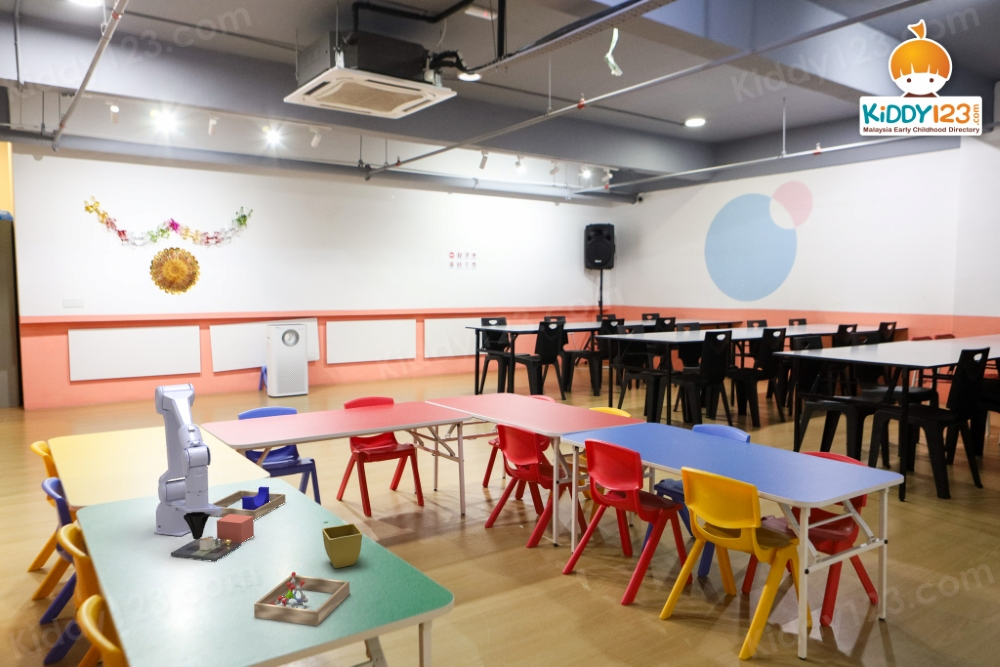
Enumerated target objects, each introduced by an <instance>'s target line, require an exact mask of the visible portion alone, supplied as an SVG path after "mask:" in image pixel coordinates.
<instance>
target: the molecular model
mask: <svg viewBox="0 0 1000 667" xmlns="http://www.w3.org/2000/svg"><path fill="white" fill-rule="evenodd" d="M291 575H292V580H291V582H290V583H289V582H288V583H287V587H288V593H286V594H285V595H284V596H283V597H281V596H279V597H278V600H277V601H276V602H274V603H271V604H270V605H280V604H283V606H285V607H288V605H287V603H288V602H290V600H292V599H293V600H295V601H296V606H295V608H299V605H300V606H301V605H303V603H304V604H307V603H308V601H309V599H308V597H306V596H307V595H306V594H305V593H303V591H302V590H303V589H302V585H304V584H305V581H304V580H302V581H301V582H300V586H297V585H296V583H295V582H296V581H295V579H294V577H295V575H297V573H296V572H295V571H293V572H291ZM291 575H290V576H291ZM291 584H294V585H291ZM290 586H291V590H290ZM293 590H294V592H293ZM297 592H299V593H300V598H299V597H298V598H297V596H296V594H297Z"/></svg>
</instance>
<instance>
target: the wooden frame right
mask: <svg viewBox="0 0 1000 667" xmlns="http://www.w3.org/2000/svg"><path fill="white" fill-rule="evenodd" d="M294 579H295V581H296V582H295V583H296V585H297V586H300V582H301V581H302V580H304V581H305V584H304V585H302V590H305V591H313V592H321V593H328V594H332V595H330V597H329V598H327V599H326V600H325V601H324V602H323V603H322V604H321V605H320V606H319V607H318V608H317V609H316V610H312V609H307V608H305V609H304V608H299V607H298V608H296V607H290V606H287V607H285V606H284V605H279V604H276V605H270V604H271V603H274V602H276V601H277V600H278V597H279V596H281V597H282V596H286V595H287V592H288V587H287V583H288V582H289V583H290V582H291V580H292V575H289V576H288V577H287V578H285V579H284V580H283V581H282V582H281V583H279V584H278V585H277V586H275V587H274V588H273V589H272V590H270V591H269V592H268V593H267V594H265V595H264V596H262V597H261V598H260V599H258V600H257V601H256V602H254V605H253V612H254V614H253V615H254V618H259V619H264V620H272V621H273V620H274V621H281V622H287V623H294V624H295V623H296V624H300V625H308V626H309V625H310V626H315V627H318V626H319V625H320V624H321V623H322V622H323V621H324V620H325V619H326V618H327V617H328V616H329V615H330V614H331V613H332V612H333V611H334V610H335V609H336V608H337V607H338V606H339V605H340V604H341V603H342V602H343V601H344V600H345V599H346V598H348V596H349V595H350V594H351V592H350V585H351V584H350V581H345V580H340V579H339V580H338V579H330V578H323V577H322V578H321V577H313V576H306V575H297V574H296V575H295V577H294ZM291 585H294V584H291ZM290 591H291V586H290Z"/></svg>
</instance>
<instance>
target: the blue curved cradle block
mask: <svg viewBox="0 0 1000 667" xmlns="http://www.w3.org/2000/svg"><path fill="white" fill-rule="evenodd" d="M257 492H258V495H256V496H254V497H247V496H244V497H243V498H242V500H241V507H242V508H241V509H245V510H256V509H258V508H259V507H261V506H263V505H265V504H267V503H268V502H269V493H270V487H269V486H259V487H258V490H257Z"/></svg>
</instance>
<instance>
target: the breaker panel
mask: <svg viewBox="0 0 1000 667" xmlns="http://www.w3.org/2000/svg"><path fill="white" fill-rule="evenodd" d="M203 538H204V537H201V538H200V539H198V540H197V539H193V540H191V541H190V542H188V543H186V544H185V545H182V546H181V547H179V548H177V549H175V550H173V551H171V552H170V557H171V556H172V557H173V558H179V557H181V559H188V558H193V559H192V560H196V559H201V560H200V561H204V560H211V561H210V562H212V561H216V562H218V561H219V560H218V559H220V558H221V559H223V558H224V557H226V556H228V555H229V554H230V552H231V551H233V550H234V551H236V550H237V549H239V548H240V547H239V546H241V547H242V544H241V543H239V542H231V539H225V540H224V541H222V538H217V537H215V538H214V537H213V536H206V538H213V548H211V549H209V550H200V540H202V539H203ZM238 547H239V548H238ZM236 548H237V549H236ZM235 549H236V550H235ZM234 551H233V552H234ZM228 553H229V554H228ZM231 553H232V552H231ZM227 554H228V555H227ZM225 555H226V556H225ZM223 556H224V557H223ZM222 557H223V558H222ZM221 559H220V560H221ZM217 560H218V561H217Z"/></svg>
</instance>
